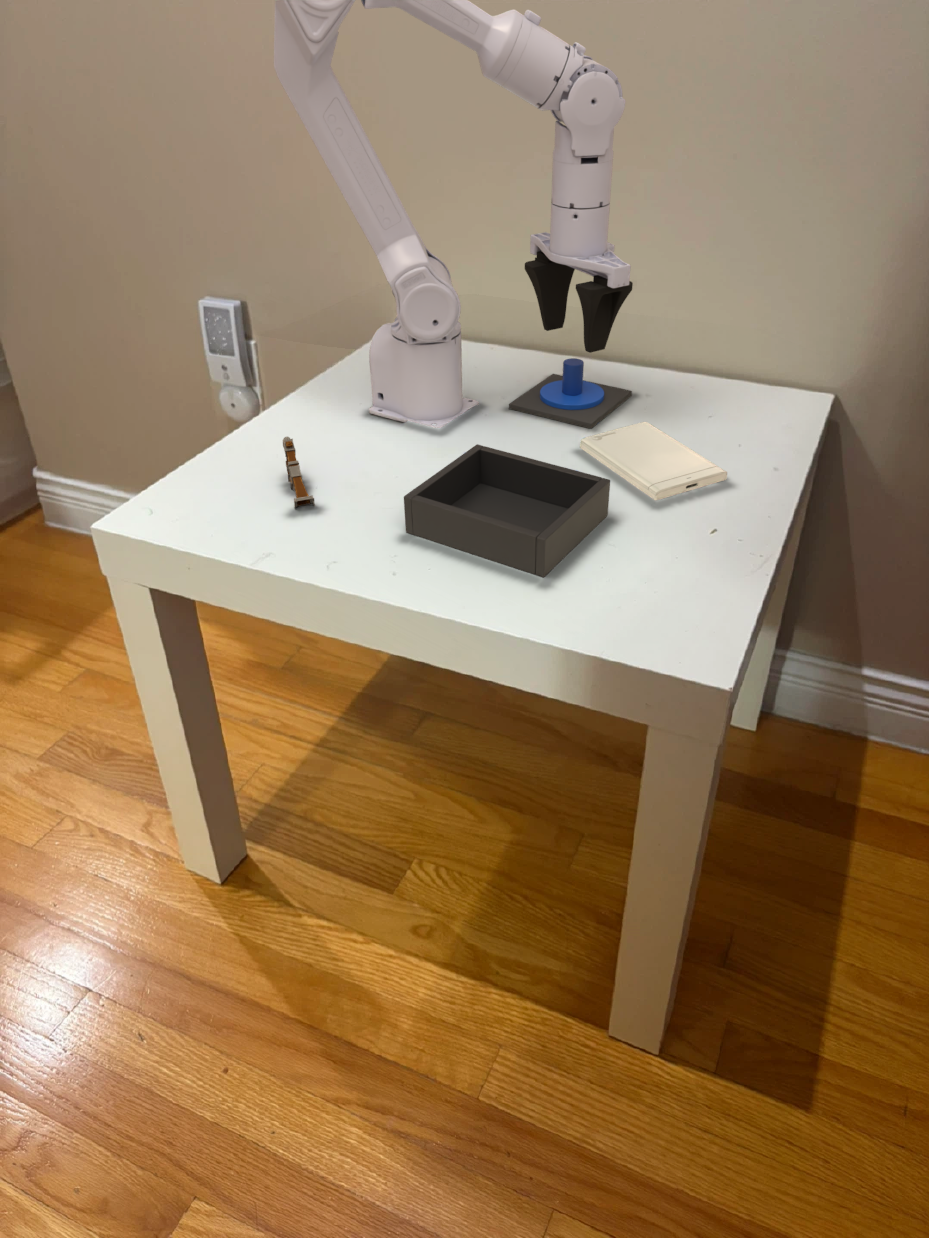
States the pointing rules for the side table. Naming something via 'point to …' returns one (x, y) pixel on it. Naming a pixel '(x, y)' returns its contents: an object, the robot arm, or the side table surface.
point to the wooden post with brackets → (295, 474)
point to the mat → (582, 417)
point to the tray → (508, 508)
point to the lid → (572, 389)
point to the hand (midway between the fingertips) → (573, 339)
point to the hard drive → (652, 460)
